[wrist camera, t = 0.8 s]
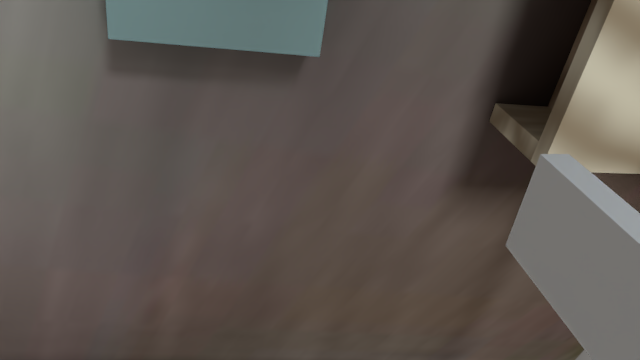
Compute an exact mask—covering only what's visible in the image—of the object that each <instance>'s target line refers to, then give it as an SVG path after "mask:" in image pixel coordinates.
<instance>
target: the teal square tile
mask: <svg viewBox="0 0 640 360" xmlns="http://www.w3.org/2000/svg"><path fill="white" fill-rule="evenodd" d="M327 4H328V0H106V14H107V29H108V39H114V40H126V41H138V42H150V43H161V44H173V45H185V46H197V47H209V48H220V49H232V50H244V51H256V52H268V53H279V54H291V55H303V56H315V57H320V50H321V44H322V37H323V31H324V24H325V17H326V11H327Z"/></svg>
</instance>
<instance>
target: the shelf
mask: <svg viewBox="0 0 640 360" xmlns="http://www.w3.org/2000/svg"><path fill="white" fill-rule="evenodd" d="M489 122H490V123H491V124H492V125H494V126H495V127H496V128H497V129H498V130H499V131H500V132H501V133H502V134H503V135H504V136H505V137H506V138H507V139H508V140H509V141H510V142H511V143H512V144H513V145H514V146H515V147H516V148H517V149H518V150H519V151H520V152H521V153H523V154H524V155H525V156H526V157H527V158H528V159H529V160H530V161H531V162H532V163H533V164H534V165H535V166H536V164H537V162H538V159H539V156H540V154H569V155H571V156H572V157H573V158H574V159H575V160H577V161H578V162H579V163H580V164H581V165H583V166H584V167H585V168H586V169H587V170H589V171H590V172H598V173H628V174H640V0H591V3H590V5H589V8H588V10H587V13H586V15H585V17H584V20H583V22H582V25H581V27H580V30H579V32H578V34H577V37H576V39H575V42H574V44H573V47H572V49H571V51H570V54H569V56H568V59H567V61H566V64H565V66H564V68H563V71H562V73H561V76H560V78H559V81H558V83H557V85H556V88H555V90H554V93H553V95H552V98H551V100H550V102H549V105H548V107H545V106H530V105H515V104H500V103H495V106H494V109H493V112H492V115H491V118H490V120H489Z"/></svg>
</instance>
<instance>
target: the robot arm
mask: <svg viewBox="0 0 640 360" xmlns="http://www.w3.org/2000/svg"><path fill="white" fill-rule="evenodd" d="M506 247H507V248H508V249H509V251H510V252H511V253H512V255H513V256H514V257H515V259H516V260H517V261H518V262H519V264H520V265H521V266H522V268H523V269H524V270H525V272H526V273H527V274H528V276H529V277H530V278H531V280H532V281H533V282H534V284H535V285H536V286H537V287H538V289H539V290H540V291H541V293H542V294H543V295H544V297H545V298H546V299H547V301H548V302H549V303H550V305H551V306H552V307H553V309H554V310H555V311H556V313H557V314H558V315H559V316H560V318H561V319H562V320H563V322H564V323H565V324H566V326H567V327H568V328H569V330H570V331H571V332H572V334H573V335H574V336H575V338H576V339H577V340H578V341H579V343H580V344H581V345H582V347H583V348H584V349H585V351H586V352H587V353H588V355H589V356H590V357H591V358H592V360H640V213H639V212H638V211H636V210H635V209H634V208H633V207H632V206H630V205H629V204H628V203H627V202H626V201H624V200H623V199H622V198H621V197H620V196H618V195H617V194H616V193H615V192H614V191H612V190H611V189H610V188H609V187H608V186H606V185H605V184H604V183H603V182H602V181H600V180H599V179H598V178H597V177H596V176H595V175H593V174H592V173H591V172H590V171H589V170H587V169H586V168H585V167H584V166H583V165H581V164H580V163H579V162H578V161H577V160H575V159H574V158H573V157H572V156H571V155H569V154H540V156H539V159H538V162H537V164H536V167H535V170H534V172H533V175H532V177H531V180H530V183H529V185H528V188H527V190H526V193H525V196H524V198H523V201H522V204H521V206H520V209H519V211H518V214H517V217H516V219H515V222H514V224H513V227H512V230H511V232H510V235H509V238H508V240H507V243H506Z"/></svg>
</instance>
